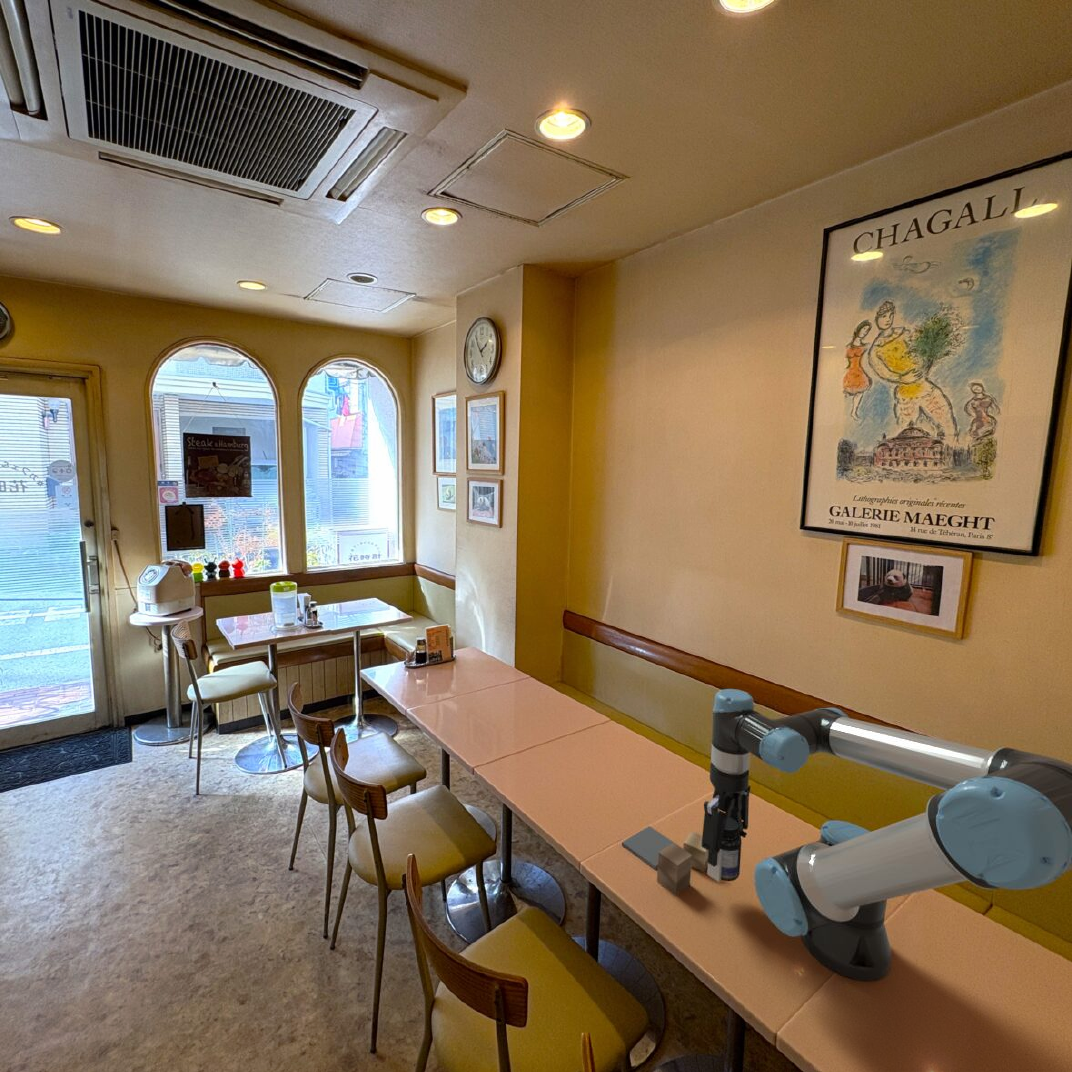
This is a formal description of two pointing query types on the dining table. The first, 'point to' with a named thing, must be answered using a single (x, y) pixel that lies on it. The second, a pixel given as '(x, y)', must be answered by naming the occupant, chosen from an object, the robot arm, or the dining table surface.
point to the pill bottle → (731, 851)
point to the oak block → (696, 851)
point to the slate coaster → (647, 845)
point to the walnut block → (674, 868)
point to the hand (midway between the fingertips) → (723, 870)
